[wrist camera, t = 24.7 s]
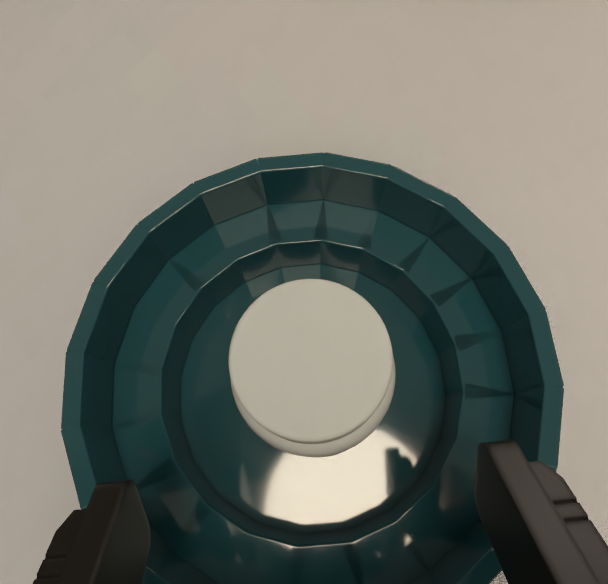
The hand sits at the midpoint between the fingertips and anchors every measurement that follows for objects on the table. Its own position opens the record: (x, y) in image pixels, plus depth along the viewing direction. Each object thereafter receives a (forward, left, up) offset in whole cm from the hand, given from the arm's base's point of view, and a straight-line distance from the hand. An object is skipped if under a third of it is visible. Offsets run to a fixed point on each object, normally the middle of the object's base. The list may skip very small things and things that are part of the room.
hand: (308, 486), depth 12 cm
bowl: (+2, +2, -8) cm, 9 cm away
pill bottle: (+2, +2, -8) cm, 8 cm away
